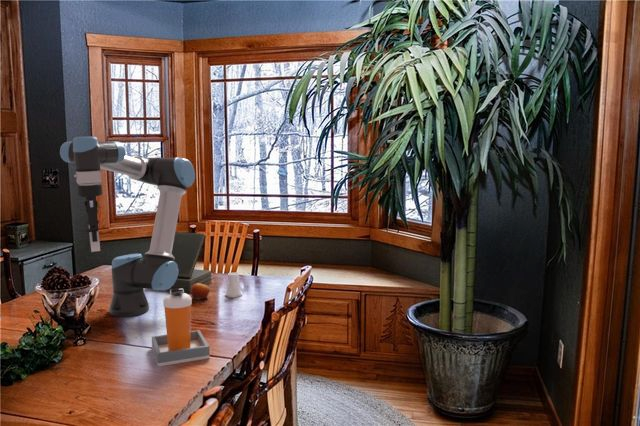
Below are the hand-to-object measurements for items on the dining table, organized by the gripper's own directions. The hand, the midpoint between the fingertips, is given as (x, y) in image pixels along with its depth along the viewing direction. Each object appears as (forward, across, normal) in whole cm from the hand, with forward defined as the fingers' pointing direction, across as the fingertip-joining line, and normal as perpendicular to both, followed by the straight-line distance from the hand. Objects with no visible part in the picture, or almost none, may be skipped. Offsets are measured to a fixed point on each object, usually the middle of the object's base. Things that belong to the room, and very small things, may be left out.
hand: (95, 247), depth 179 cm
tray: (+34, +20, +22) cm, 46 cm away
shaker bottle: (+34, +20, +22) cm, 45 cm away
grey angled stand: (+36, -63, +37) cm, 81 cm away
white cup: (+36, -37, +56) cm, 76 cm away
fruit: (+36, -38, +41) cm, 66 cm away
